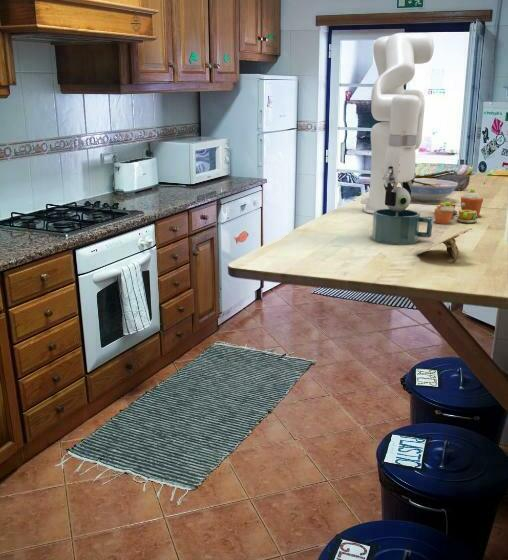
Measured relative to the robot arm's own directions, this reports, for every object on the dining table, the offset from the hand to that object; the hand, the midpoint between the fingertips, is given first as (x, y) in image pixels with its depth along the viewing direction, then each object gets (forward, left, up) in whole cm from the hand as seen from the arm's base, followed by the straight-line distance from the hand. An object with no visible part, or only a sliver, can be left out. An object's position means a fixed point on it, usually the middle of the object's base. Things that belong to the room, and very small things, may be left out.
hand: (397, 203), depth 184 cm
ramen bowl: (-30, +72, -11) cm, 79 cm away
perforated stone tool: (-38, +108, -11) cm, 115 cm away
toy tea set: (-3, +44, -11) cm, 45 cm away
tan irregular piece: (+20, -9, -11) cm, 25 cm away
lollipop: (0, 0, -10) cm, 10 cm away
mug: (+2, +1, -11) cm, 11 cm away
